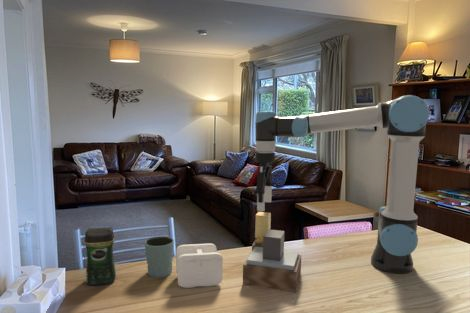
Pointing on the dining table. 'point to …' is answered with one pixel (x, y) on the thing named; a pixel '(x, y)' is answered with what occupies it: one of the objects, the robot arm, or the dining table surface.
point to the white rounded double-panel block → (198, 265)
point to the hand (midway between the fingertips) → (264, 206)
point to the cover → (273, 252)
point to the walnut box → (271, 275)
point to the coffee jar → (99, 256)
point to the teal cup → (159, 256)
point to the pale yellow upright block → (262, 225)
